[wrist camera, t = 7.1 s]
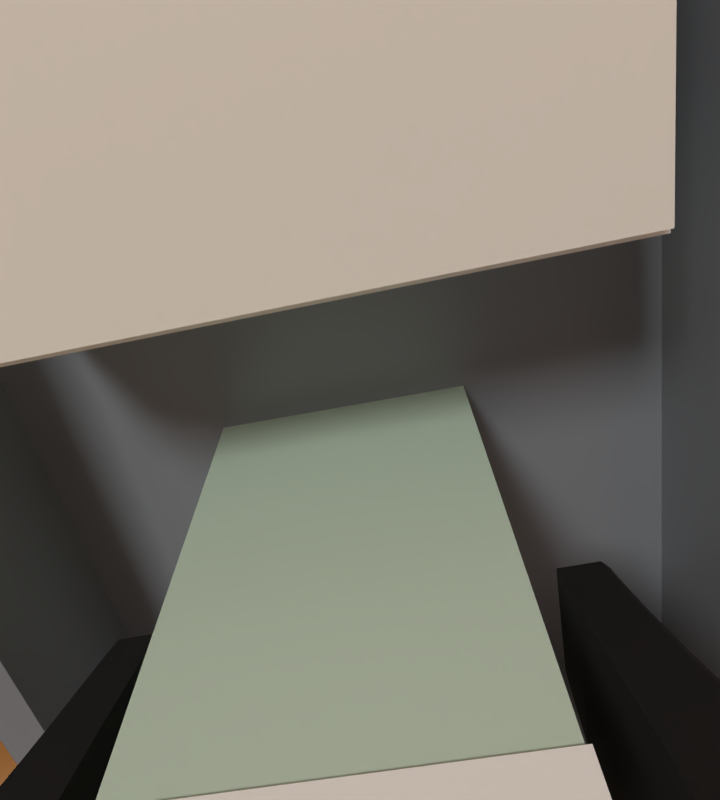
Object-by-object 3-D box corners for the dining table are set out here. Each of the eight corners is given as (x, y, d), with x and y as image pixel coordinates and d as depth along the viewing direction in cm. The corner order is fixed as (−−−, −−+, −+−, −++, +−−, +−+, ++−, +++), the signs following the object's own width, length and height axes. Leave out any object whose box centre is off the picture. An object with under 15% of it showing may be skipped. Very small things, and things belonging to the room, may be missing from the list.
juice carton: (465, 382, 12) (636, 872, 5) (490, 574, 14) (638, 1120, 7) (220, 425, 12) (37, 943, 5) (279, 607, 14) (209, 1158, 7)
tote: (713, -931, 6) (1162, -2156, 3) (682, 635, 16) (778, 803, 12) (-476, -529, 7) (-1225, -1063, 4) (155, 715, 17) (103, 890, 13)
